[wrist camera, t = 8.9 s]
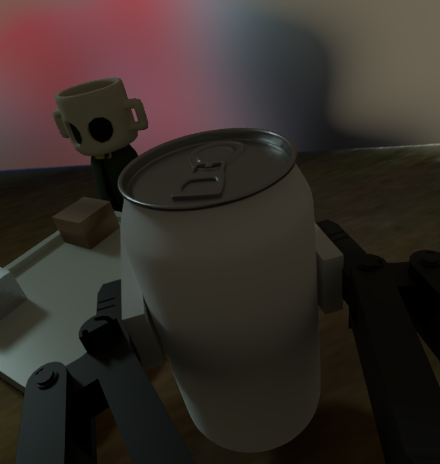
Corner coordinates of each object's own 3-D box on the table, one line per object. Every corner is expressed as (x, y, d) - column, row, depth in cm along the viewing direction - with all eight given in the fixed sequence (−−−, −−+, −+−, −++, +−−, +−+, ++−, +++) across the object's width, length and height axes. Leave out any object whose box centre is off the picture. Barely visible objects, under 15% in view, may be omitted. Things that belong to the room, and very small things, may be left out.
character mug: (74, 213, 45) (23, 103, 37) (102, 185, 50) (62, 84, 43) (158, 210, 41) (119, 89, 34) (178, 180, 47) (148, 71, 40)
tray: (77, 430, 21) (67, 415, 20) (-64, 333, 31) (-75, 321, 30) (233, 247, 33) (231, 233, 32) (97, 218, 43) (92, 206, 42)
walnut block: (91, 249, 36) (78, 223, 34) (64, 242, 38) (52, 217, 36) (120, 226, 38) (110, 201, 37) (94, 221, 40) (83, 196, 39)
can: (318, 337, 20) (310, 115, 14) (324, 466, 15) (315, 209, 8) (202, 333, 22) (144, 133, 15) (171, 450, 16) (62, 222, 10)
